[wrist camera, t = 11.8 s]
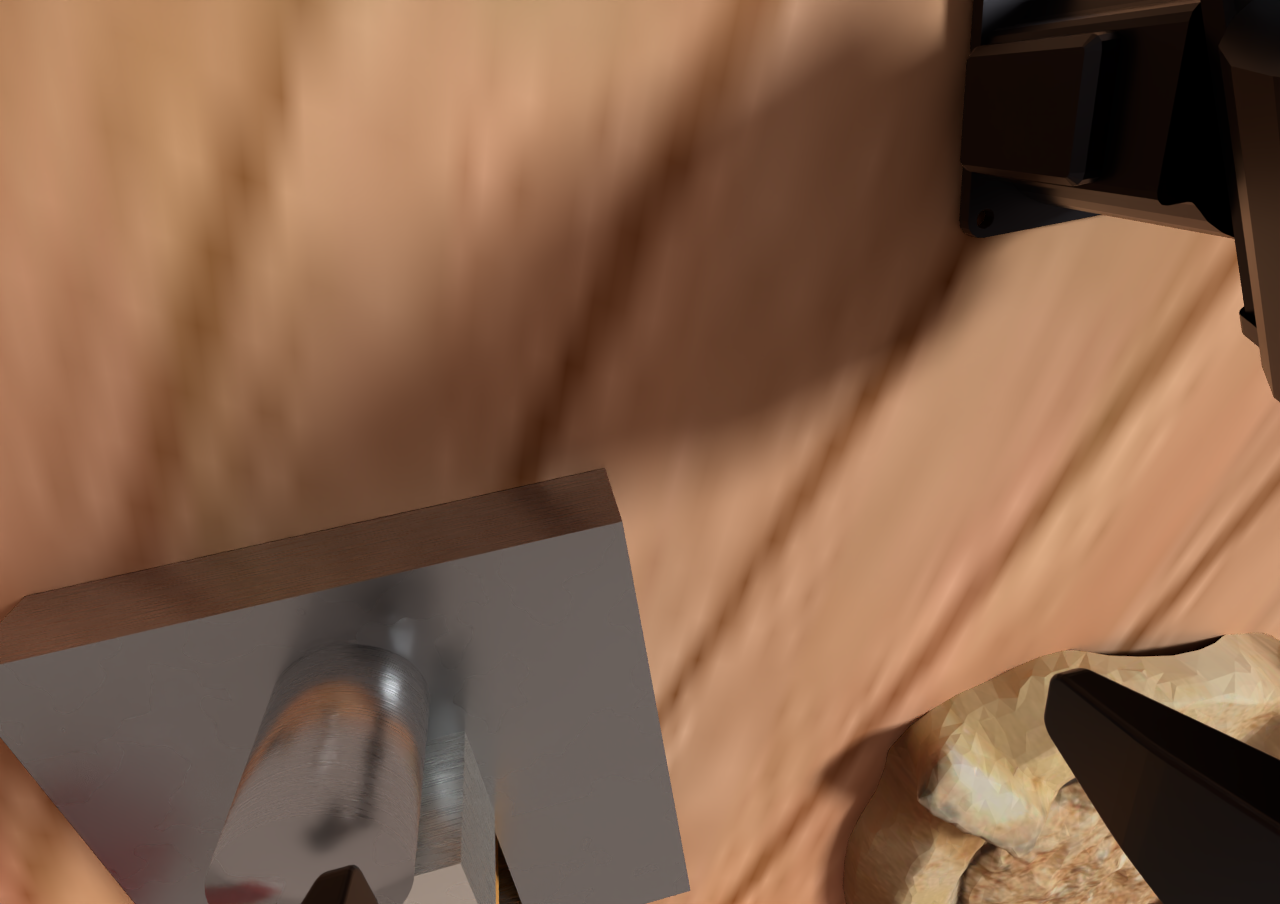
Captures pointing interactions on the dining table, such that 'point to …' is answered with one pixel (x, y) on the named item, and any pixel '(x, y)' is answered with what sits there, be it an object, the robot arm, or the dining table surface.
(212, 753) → the grey slotted base plate
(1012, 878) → the ashtray
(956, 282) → the dining table surface
